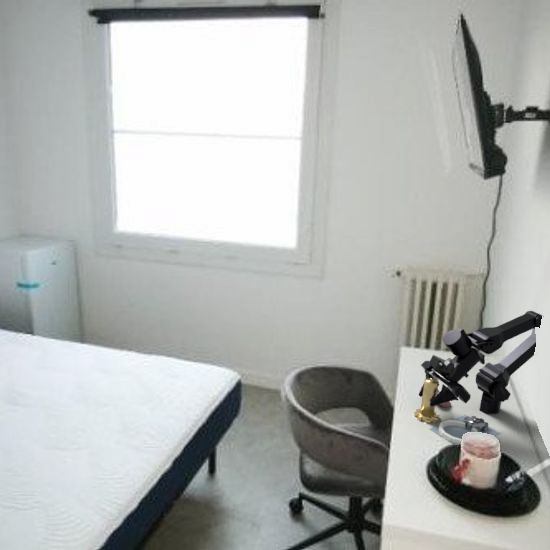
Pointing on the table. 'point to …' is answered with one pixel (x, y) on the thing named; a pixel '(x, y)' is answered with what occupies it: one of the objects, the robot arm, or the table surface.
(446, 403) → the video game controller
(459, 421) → the gear board
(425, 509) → the table surface
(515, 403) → the table surface
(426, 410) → the brass gear
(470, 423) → the fixed gear
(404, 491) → the table surface
